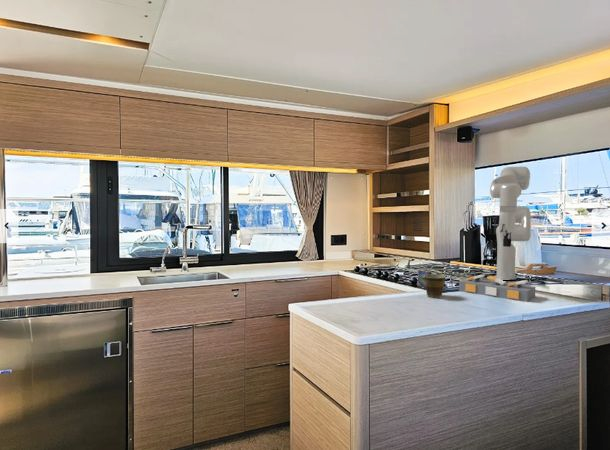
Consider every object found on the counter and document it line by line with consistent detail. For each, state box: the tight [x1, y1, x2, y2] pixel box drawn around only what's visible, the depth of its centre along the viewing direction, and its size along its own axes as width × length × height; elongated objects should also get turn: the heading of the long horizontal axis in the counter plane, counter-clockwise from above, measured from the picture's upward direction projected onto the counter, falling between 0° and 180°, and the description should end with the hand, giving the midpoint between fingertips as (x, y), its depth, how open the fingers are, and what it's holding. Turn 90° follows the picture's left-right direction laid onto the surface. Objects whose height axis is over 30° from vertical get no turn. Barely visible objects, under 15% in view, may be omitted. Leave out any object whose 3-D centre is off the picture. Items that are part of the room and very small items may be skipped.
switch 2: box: [486, 275, 507, 285], centre depth 207 cm, size 4×8×2 cm, turn 46°
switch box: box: [458, 277, 536, 302], centre depth 207 cm, size 13×32×6 cm, turn 46°
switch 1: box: [466, 273, 486, 280], centre depth 214 cm, size 4×8×2 cm, turn 46°
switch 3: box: [507, 279, 529, 286], centre depth 200 cm, size 4×8×2 cm, turn 46°
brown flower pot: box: [417, 273, 446, 299], centre depth 203 cm, size 13×10×10 cm
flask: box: [417, 266, 432, 288], centre depth 223 cm, size 9×3×11 cm, turn 28°
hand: (506, 246), depth 209 cm, fingers closed
